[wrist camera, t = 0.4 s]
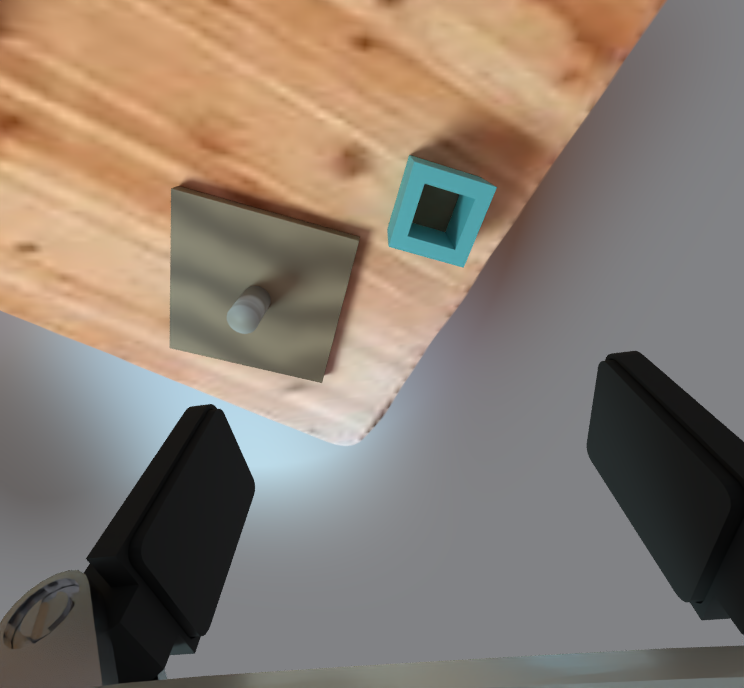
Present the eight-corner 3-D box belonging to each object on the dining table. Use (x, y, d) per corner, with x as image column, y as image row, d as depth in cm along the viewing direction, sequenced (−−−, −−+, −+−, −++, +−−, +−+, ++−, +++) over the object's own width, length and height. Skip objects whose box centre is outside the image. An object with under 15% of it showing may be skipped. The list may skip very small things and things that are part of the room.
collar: (409, 154, 35) (414, 161, 30) (480, 177, 36) (497, 187, 31) (387, 229, 39) (388, 246, 34) (452, 247, 40) (463, 267, 35)
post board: (178, 186, 37) (142, 198, 32) (359, 236, 39) (356, 256, 34) (175, 341, 46) (147, 372, 40) (323, 375, 48) (316, 410, 43)
